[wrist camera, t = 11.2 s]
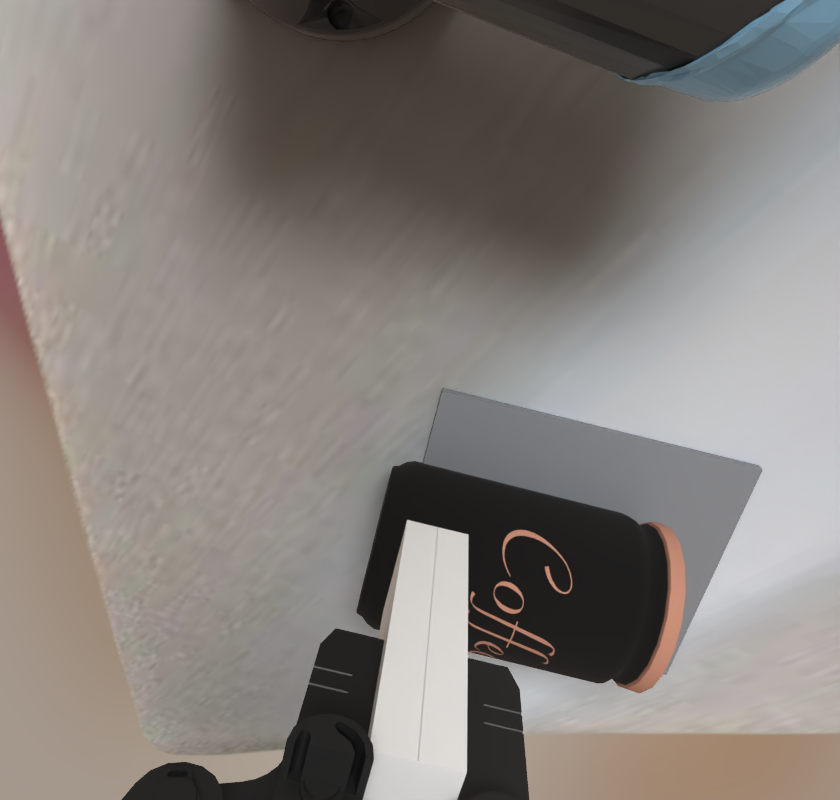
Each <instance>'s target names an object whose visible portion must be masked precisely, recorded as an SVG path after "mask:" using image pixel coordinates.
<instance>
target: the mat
mask: <svg viewBox="0 0 840 800" xmlns="http://www.w3.org/2000/svg"><path fill="white" fill-rule="evenodd" d="M423 463H424V464H428V465H432V466H436V467H440V468H444V469H448V470H452V471H456V472H460V473H464V474H468V475H472V476H476V477H480V478H484V479H488V480H492V481H496V482H500V483H504V484H508V485H512V486H516V487H520V488H524V489H528V490H532V491H536V492H540V493H544V494H548V495H552V496H556V497H560V498H564V499H568V500H572V501H576V502H580V503H584V504H588V505H592V506H596V507H600V508H604V509H608V510H612V511H616V512H620V513H623V514H625V515H627V516H629V517H630V518H632V519H634V520H635V521H636V522H637V523H638V524H639V525H640V524H643V523H647V522H657V523H662V524H664V525H665V526H667V527H669V528H670V529H672V530H673V532H674V533H675V535H676V537H677V539H678V541H679V542H680V545H681V549H682V554H683V559H684V563H685V585H686V594H685V602H684V611H683V619H682V624H681V628H680V632H679V636H678V639H677V643H676V647H675V650H674V653H673V655H672V657H671V659H670V661H669V663H668V666H667V668H666V670H665V672H664V674H665V675H666V674H667V672H668V670H669V668H670V666H671V663H672V661H673V659H674V657H675V655H676V653H677V651H678V649H679V646H680V644H681V642H682V640H683V638H684V636H685V634H686V632H687V629H688V627H689V625H690V623H691V621H692V619H693V617H694V615H695V612H696V610H697V608H698V606H699V604H700V602H701V600H702V598H703V595H704V593H705V591H706V589H707V587H708V585H709V583H710V581H711V578H712V576H713V574H714V572H715V570H716V568H717V566H718V563H719V561H720V559H721V557H722V555H723V553H724V551H725V549H726V546H727V544H728V542H729V540H730V538H731V536H732V534H733V532H734V529H735V527H736V525H737V523H738V521H739V519H740V517H741V515H742V512H743V510H744V508H745V506H746V504H747V502H748V500H749V498H750V495H751V493H752V491H753V489H754V487H755V485H756V483H757V480H758V478H759V476H760V474H761V472H762V468H761V467H760V466H758V465H754V464H750V463H746V462H742V461H738V460H734V459H730V458H726V457H722V456H718V455H714V454H709V453H705V452H701V451H697V450H693V449H689V448H685V447H681V446H677V445H673V444H669V443H665V442H660V441H656V440H652V439H648V438H644V437H640V436H636V435H632V434H628V433H624V432H620V431H616V430H611V429H607V428H603V427H599V426H595V425H591V424H587V423H583V422H579V421H575V420H571V419H567V418H562V417H558V416H554V415H550V414H546V413H542V412H538V411H534V410H530V409H526V408H522V407H518V406H513V405H509V404H505V403H501V402H497V401H493V400H489V399H485V398H481V397H477V396H473V395H469V394H464V393H460V392H456V391H452V390H448V389H444V388H443V389H442V393H441V396H440V400H439V404H438V408H437V412H436V415H435V419H434V423H433V427H432V431H431V434H430V438H429V442H428V446H427V450H426V453H425V457H424V461H423Z"/></svg>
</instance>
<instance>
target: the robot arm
mask: <svg viewBox="0 0 840 800" xmlns="http://www.w3.org/2000/svg"><path fill="white" fill-rule="evenodd" d="M249 1H250V2H251V3H252V4H253V5H254V6H256V7H257V8H258V9H259V10H261V11H262V12H264V13H265V14H267V15H268V16H270V17H272V18H273V19H275V20H276V21H278V22H280V23H282V24H283V25H285V26H287V27H289V28H291V29H293V30H295V31H298V32H300V33H303V34H306V35H309V36H312V37H316V38H321V39H326V40H334V41H353V40H361V39H367V38H372V37H376V36H379V35H382V34H385V33H387V32H390V31H392V30H394V29H396V28H399V27H401V26H402V25H404V24H406V23H407V22H409V21H411V20H412V19H414V18H415V17H416V16H418V15H419V14H420V13H422V12H423V11H424V10H425V9H426V8H428V7H429V6H430V5H431V4H432V3H433V2H437V3H439V4H442V5H444V6H447V7H450V8H452V9H455V10H457V11H460V12H462V13H465V14H467V15H470V16H472V17H475V18H477V19H480V20H483V21H485V22H488V23H490V24H493V25H495V26H498V27H500V28H503V29H505V30H508V31H510V32H513V33H515V34H518V35H521V36H523V37H526V38H528V39H531V40H533V41H536V42H538V43H541V44H543V45H546V46H548V47H551V48H554V49H556V50H559V51H561V52H564V53H566V54H569V55H571V56H574V57H576V58H579V59H581V60H584V61H587V62H589V63H592V64H594V65H597V66H599V67H602V68H604V69H607V70H609V71H612V72H613V73H614V74H615V75H616V76H617V77H619V78H620V79H622V80H624V81H626V82H628V83H629V82H634V83H636V84H638V85H658V86H662V87H665V88H668V89H671V90H674V91H677V92H680V93H683V94H686V95H690V96H693V97H696V98H699V99H702V100H707V101H719V102H728V101H737V100H741V99H745V98H749V97H752V96H755V95H758V94H761V93H764V92H766V91H768V90H771V89H773V88H775V87H777V86H779V85H780V84H782V83H784V82H786V81H787V80H789V79H791V78H793V77H794V76H796V75H797V74H799V73H800V72H802V71H804V70H805V69H806V68H808V67H809V66H811V65H812V64H813V63H815V62H816V61H817V60H819V59H820V58H821V57H822V56H824V55H825V54H826V53H828V52H829V51H830V50H831V49H832V48H834V47H835V46H836V45H837V44H838V43H839V42H840V0H249ZM468 538H469V535H468V534H464V533H460V532H456V531H452V530H447V529H443V528H439V527H435V526H431V525H427V524H422V523H418V522H414V521H410V520H407V522H406V526H405V530H404V534H403V538H402V541H401V545H400V549H399V553H398V557H397V560H396V564H395V568H394V572H393V576H392V579H391V583H390V587H389V591H388V595H387V599H386V602H385V606H384V610H383V615H382V620H381V626H380V631H379V636H378V638H374V637H370V636H366V635H361V634H357V633H353V632H349V631H344V630H340V629H335V630H334V631H333V632H332V633H331V634H330V635H329V636H328V637H327V638H326V639H325V640H324V641H323V642H322V643H321V644H320V647H319V651H318V654H317V657H316V661H315V664H314V668H313V671H312V674H311V678H310V681H309V685H308V688H307V691H306V695H305V698H304V701H303V705H302V708H301V711H300V715H299V718H298V722H297V725H296V726H295V727H294V728H293V730H292V732H291V733H290V735H289V737H288V739H287V742H286V747H285V751H284V756H283V760H282V762H281V763H280V764H279V766H278V767H276V768H275V769H274V770H272V771H271V772H270V773H268V774H266V775H264V776H262V777H259V778H257V779H254V780H249V781H244V782H235V783H223V784H219V783H218V781H217V779H216V777H215V776H214V775H213V774H212V773H210V772H209V771H208V770H206V769H205V768H204V767H202V766H199V765H195V764H191V763H187V762H180V763H168V764H165V765H163V766H160V767H158V768H155V769H153V770H151V771H149V772H148V773H147V774H146V775H144V776H143V777H142V778H141V779H140V780H139V781H138V782H136V783H135V784H134V786H133V787H132V788H131V789H130V790H129V792H128V793H127V794H126V795H125V796H124V798H123V799H122V800H529V792H528V781H527V771H526V758H525V747H524V735H523V734H522V732H523V724H522V716H521V701H520V689H519V687H518V686H517V684H516V682H515V680H514V678H513V676H512V674H511V673H510V671H509V669H508V667H504V666H499V665H495V664H491V663H487V662H482V661H478V660H474V659H470V658H468Z"/></svg>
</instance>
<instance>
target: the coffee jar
mask: <svg viewBox="0 0 840 800" xmlns="http://www.w3.org/2000/svg"><path fill="white" fill-rule="evenodd" d="M407 520H410V521H414V522H418V523H422V524H427V525H431V526H435V527H439V528H443V529H447V530H452V531H456V532H460V533H464V534H468V535H469V538H468V652H472V653H476V654H480V655H484V656H488V657H492V658H496V659H500V660H504V661H509V662H513V663H517V664H521V665H525V666H529V667H533V668H537V669H541V670H545V671H549V672H554V673H558V674H562V675H566V676H570V677H574V678H578V679H582V680H586V681H590V682H595V683H605V682H606V681H608V680H610V679H613V680H614V681H615V682H616V684H617V685H618V686H620V687H623V688H626V689H628V690H631V691H634V692H637V693H641V692H643V691H646V690H648V689H650V688H652V687H653V686H654V685H655V684H656V682H657V681H658V680H659V679H660V677H661V676H662V675H663V674H664V672H665V670H666V668H667V666H668V663H669V661H670V659H671V657H672V655H673V653H674V650H675V647H676V643H677V639H678V636H679V632H680V628H681V624H682V619H683V611H684V602H685V594H686V585H685V563H684V559H683V554H682V549H681V545H680V542H679V541H678V539H677V537H676V535H675V533H674V532H673V530H672V529H670V528H669V527H667V526H665V525H664V524H662V523H657V522H647V523H643V524H640V525H639V524H638V523H637V522H636V521H635V520H634V519H632V518H630V517H629V516H627V515H625V514H623V513H620V512H616V511H612V510H608V509H604V508H600V507H596V506H592V505H588V504H584V503H580V502H576V501H572V500H568V499H564V498H560V497H556V496H552V495H548V494H544V493H540V492H536V491H532V490H528V489H524V488H520V487H516V486H512V485H508V484H504V483H500V482H496V481H492V480H488V479H484V478H480V477H476V476H472V475H468V474H464V473H460V472H456V471H452V470H448V469H444V468H440V467H436V466H432V465H428V464H424V463H420V462H416V461H412V462H406V463H404V464H402V465H400V466H393V468H392V471H391V475H390V479H389V483H388V487H387V490H386V494H385V498H384V502H383V506H382V510H381V514H380V518H379V522H378V526H377V530H376V534H375V538H374V542H373V546H372V550H371V554H370V558H369V562H368V566H367V570H366V574H365V578H364V582H363V586H362V590H361V594H360V598H359V603H358V607H357V613H358V614H359V615H361V616H362V617H363V618H364V620H365V621H366V622H367V624H368V625H370V626H371V627H373V628H374V629H378V630H380V626H381V620H382V615H383V610H384V606H385V602H386V599H387V595H388V591H389V587H390V583H391V579H392V576H393V572H394V568H395V564H396V560H397V557H398V553H399V549H400V545H401V541H402V538H403V534H404V530H405V526H406V522H407Z"/></svg>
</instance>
